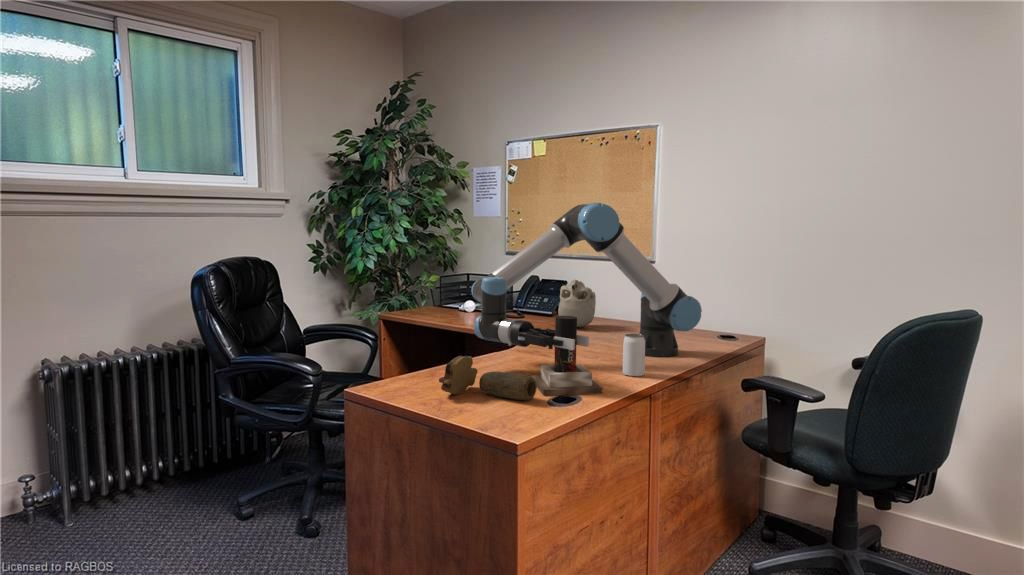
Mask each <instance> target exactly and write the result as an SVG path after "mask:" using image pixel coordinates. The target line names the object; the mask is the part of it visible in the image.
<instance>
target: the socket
mask: <svg viewBox="0 0 1024 575" xmlns="http://www.w3.org/2000/svg"><path fill="white" fill-rule="evenodd" d="M531 377H532V378H534V380H535V382H536V385H537V389H538V391H540V393H541V394H542V395H543V396H544V397H545V396H546V397H547V396H568V395H567V394H572V395H592V394H593V395H595V394H603V386H601V385H600V384H598V383H597V382H596V381H595V380H594V379H593V373H592V372H591V371H590V370H589V369H587V368H586V367H585V366H584V365H582V363H576V372H561V373H558V372H555V371H554V364H540V374H538V375H537V374H536V375H533V374H531Z"/></svg>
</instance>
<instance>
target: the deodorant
mask: <svg viewBox="0 0 1024 575" xmlns="http://www.w3.org/2000/svg"><path fill="white" fill-rule="evenodd" d="M554 318H555V320H554V324H555V327H554V328H555V329H554V330H555V336H556V337H562V338H568V339H574V340H575V350H570V349H564V348H559V347H554V362H553V363H554V364H553V365H554V371H555V372H558V373H561V372H576V364H577V345H576V341H577V335H578V334H577V332H578V328H577V317H574V316H559V315H556V316H555V317H554Z"/></svg>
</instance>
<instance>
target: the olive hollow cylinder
mask: <svg viewBox="0 0 1024 575" xmlns="http://www.w3.org/2000/svg"><path fill="white" fill-rule="evenodd" d="M478 385H479V389H480V391H481V392H484V394H485V393H486V394H487V395H490V396H493V397H499V398H505V399H509V400H517V401H531V400H532V399H533V398H535V395H536V393H537V389H538V388H537V385H536V382H535V380H534V378H532V376H529V375H526V374H522V373H515V372H506V371H503V372H502V371H488V372H485V373H483V374H482V375H481V376H480V378H479V384H478Z"/></svg>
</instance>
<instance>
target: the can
mask: <svg viewBox="0 0 1024 575" xmlns="http://www.w3.org/2000/svg"><path fill="white" fill-rule="evenodd" d="M622 342H623V343H622V344H623V346H622V347H623V349H622V375H624V374H625V375H624V376H626V375H628V376H627V377H630V376H640V377H643V376H644V375H645V371H646V370H645V366H646V365H645V364H646V362H645V361H646V355H645V339H644V335H641V334H639V333H625V335H624V338H623V341H622ZM642 375H643V376H642Z"/></svg>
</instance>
